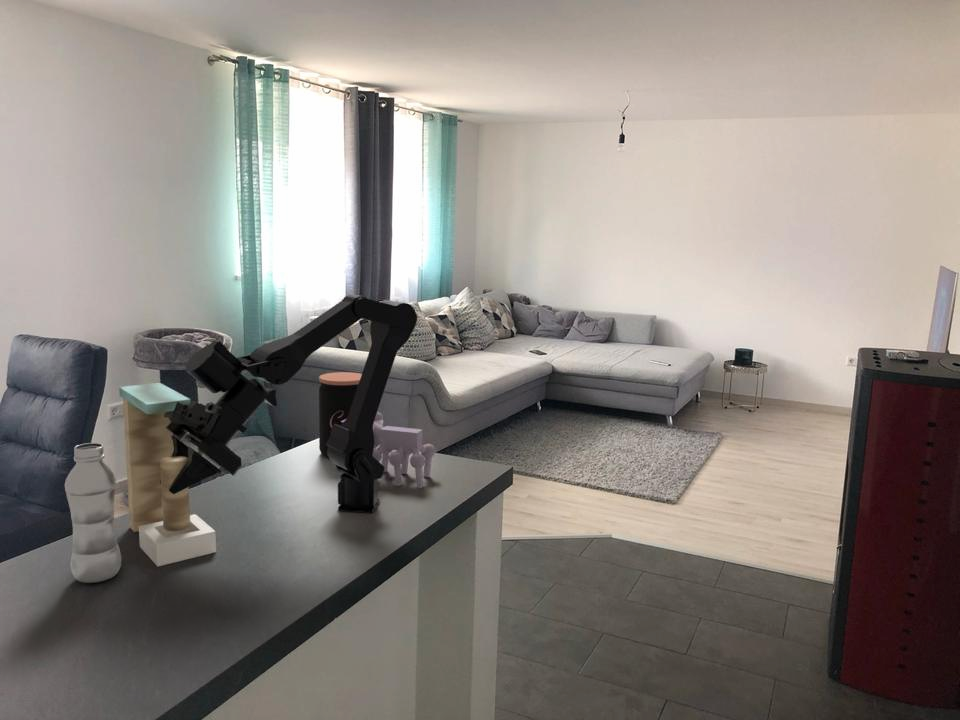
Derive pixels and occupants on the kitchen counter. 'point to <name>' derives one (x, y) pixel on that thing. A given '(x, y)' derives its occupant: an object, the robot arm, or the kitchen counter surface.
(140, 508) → the tall textured pillar
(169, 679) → the kitchen counter surface
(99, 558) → the plastic bottle
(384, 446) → the toy sheep
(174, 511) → the peg
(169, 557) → the socket
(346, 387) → the coffee jar
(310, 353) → the robot arm
